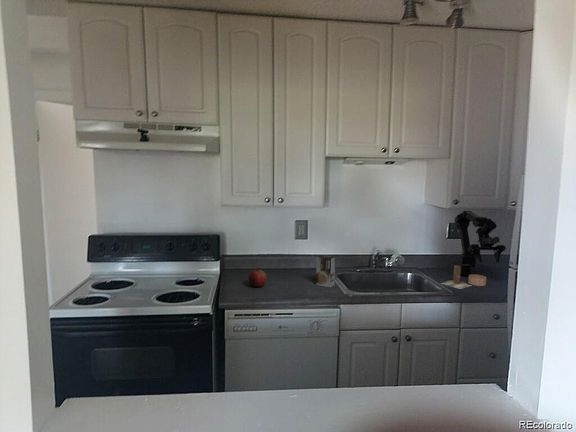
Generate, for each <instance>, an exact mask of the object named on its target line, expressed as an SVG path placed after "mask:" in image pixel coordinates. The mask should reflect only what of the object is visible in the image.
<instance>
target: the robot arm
mask: <svg viewBox="0 0 576 432" xmlns="http://www.w3.org/2000/svg"><path fill="white" fill-rule="evenodd" d="M454 223H455V227H456V228H457V229H458V231H459V236H460V242H461V250H462V252H461V254H460V258H459V259H458V261H457V266H461V273H460V277H465V278H469V275H471V274H473V270H474V269H473V268H475V266H476V264H477V260H478V262H479V263H483V259H482V255H481V251H493V252H494V253H493V256H494V258H495V261H496V263H497V264H499V263H500V259H501V254H502V253H503V252H504V251H507V248H506V245H505V244H497V243H500V237H499V236H493V237H491V236H490V234H491V233H492V232H493V231H494V230H495V229H496V228H497V223H496V222H495V221H493V220H492V218H488V217H487V216H480V215H477V214H476V213H474V212H473V211H472V210H463V211H462V212H461V213H458V214H457V215H456V216H455V218H454ZM470 223H472V225H473V226H474V227H476V228H477V230H475V233H476V234H477V237H478V240H477V242H478V243H479V244H478V243H473V244H471V243H470V235H469V229H468V228H469V227H470ZM496 244H497V245H496ZM495 245H496V246H495Z"/></svg>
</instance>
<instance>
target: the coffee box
mask: <svg viewBox="0 0 576 432" xmlns="http://www.w3.org/2000/svg"><path fill="white" fill-rule="evenodd" d="M315 266H316V271H315V285H316V286H318V287H319V286H320V287H324V288H325V287H326V288H332V287H333V286H335V285H336V256H331V255H330V256H329V255H325V254H320V255H318V256H317V257H316V265H315Z"/></svg>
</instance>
